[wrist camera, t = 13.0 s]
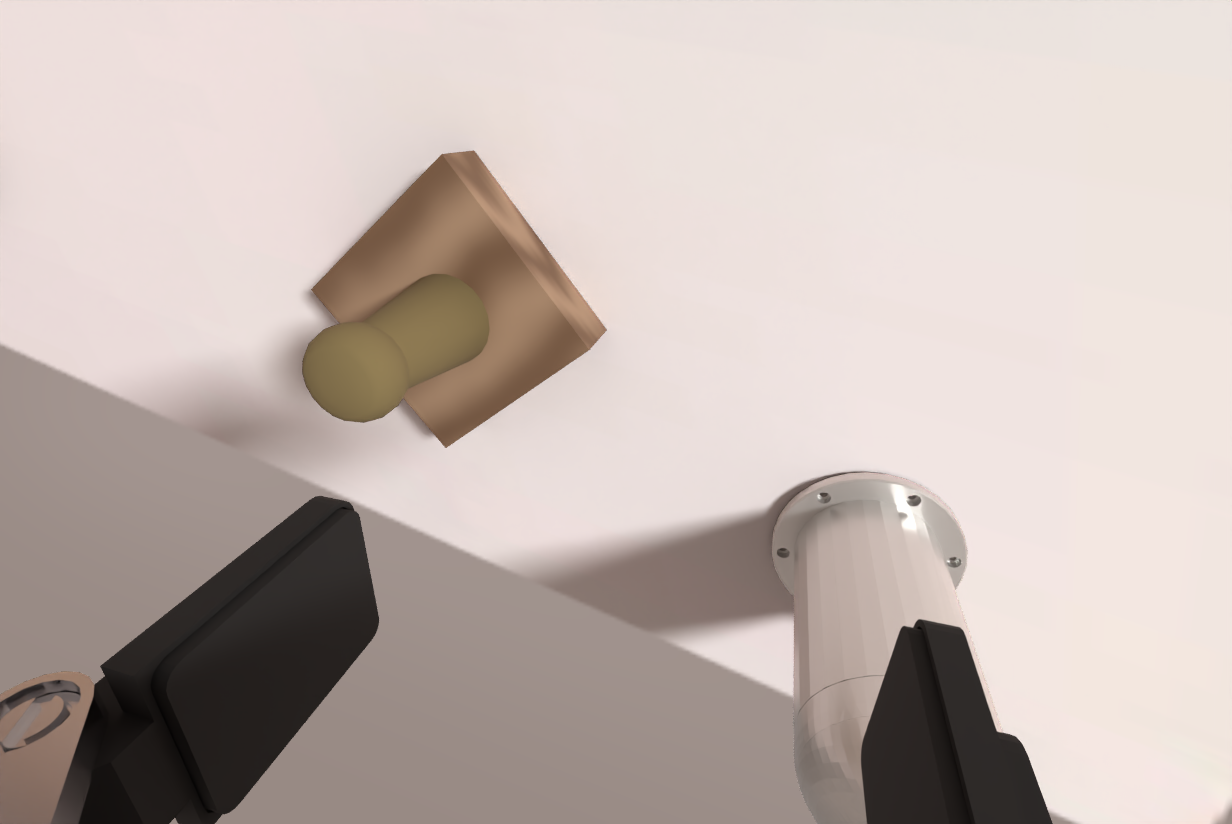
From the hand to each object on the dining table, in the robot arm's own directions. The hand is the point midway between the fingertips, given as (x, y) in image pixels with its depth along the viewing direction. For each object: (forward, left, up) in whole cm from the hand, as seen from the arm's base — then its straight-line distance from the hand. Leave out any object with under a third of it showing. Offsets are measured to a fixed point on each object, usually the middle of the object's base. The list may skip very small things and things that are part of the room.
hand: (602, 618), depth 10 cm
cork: (+8, +17, -26) cm, 32 cm away
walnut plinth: (+8, +17, -30) cm, 36 cm away
